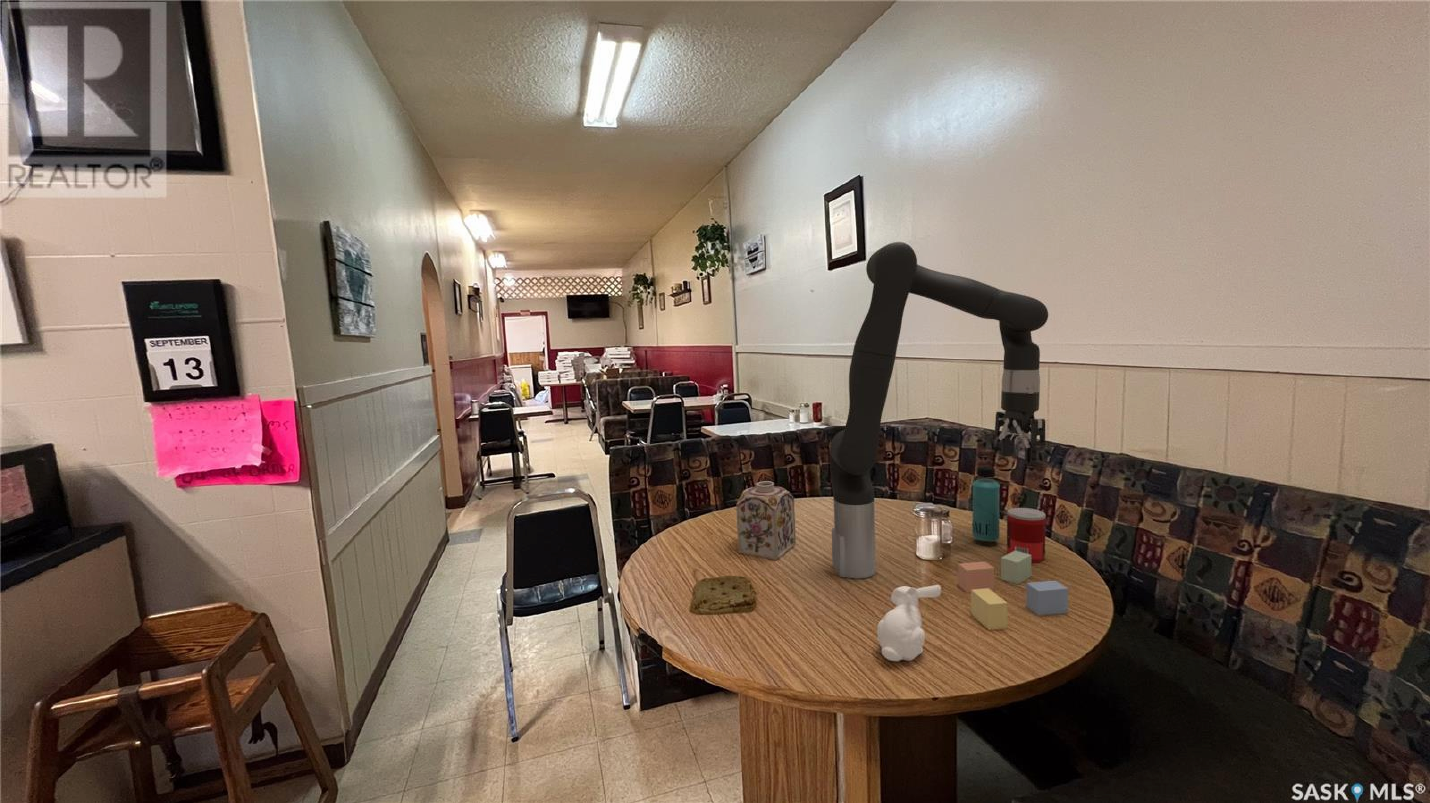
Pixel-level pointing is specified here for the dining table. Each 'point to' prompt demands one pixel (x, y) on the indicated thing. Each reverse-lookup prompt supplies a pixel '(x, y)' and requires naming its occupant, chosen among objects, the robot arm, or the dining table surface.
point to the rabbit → (904, 624)
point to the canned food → (1026, 532)
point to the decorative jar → (766, 521)
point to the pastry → (723, 595)
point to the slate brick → (1047, 598)
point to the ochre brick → (989, 608)
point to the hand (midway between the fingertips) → (1017, 460)
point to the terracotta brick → (975, 576)
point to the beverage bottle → (985, 506)
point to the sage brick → (1016, 567)
